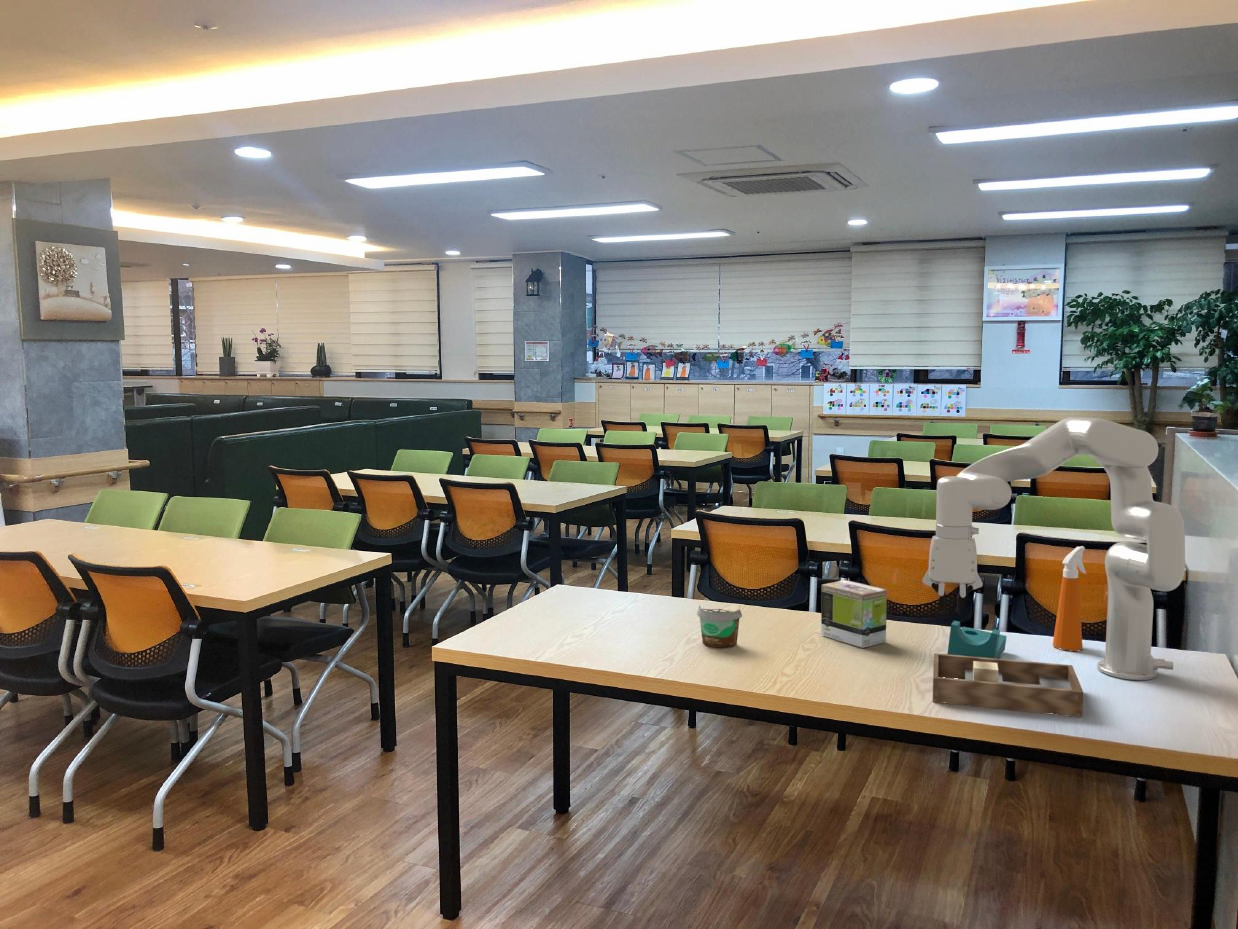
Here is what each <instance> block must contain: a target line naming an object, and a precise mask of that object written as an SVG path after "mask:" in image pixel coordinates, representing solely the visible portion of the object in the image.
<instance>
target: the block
mask: <svg viewBox="0 0 1238 929" xmlns="http://www.w3.org/2000/svg"><path fill="white" fill-rule="evenodd" d="M973 680H975V681H985V682H996V683H998V665H997V663H991V662H980V661H973Z"/></svg>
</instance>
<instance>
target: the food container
mask: <svg viewBox="0 0 1238 929" xmlns="http://www.w3.org/2000/svg"><path fill="white" fill-rule="evenodd" d="M696 615H697V617H699V623H700V631H701V642H703V643H702V645H703V644H704V645H705V647H707V648H710V649H717V650H719V649H720V650H721V649H725V650H726V649H731V648H734V647H736V646H737V644H738V636H739V628H740V626H739V625H740V618H742V617H743V614H742V611H741V608H740V609H737V610H735V611H733V610H732V611H731V610H726V609H723V608H722V609H721V608H713V609H710V608H702V607H701V605H699V606H698V609H697V612H696ZM704 645H703V646H704Z"/></svg>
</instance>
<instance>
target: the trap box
mask: <svg viewBox="0 0 1238 929" xmlns="http://www.w3.org/2000/svg"><path fill="white" fill-rule="evenodd" d="M973 661H980V662H991V663H997V665H998V683H996V682H985V681H975V680H973ZM932 671H933V673H932V674H933V677H932V702H933V701H935V702H934V703H938V702H946V703H945V704H948V703H952V704H951V705H957V704H960V706H967V705H970V706H969V707H977V708H978V707H979V708H987V709H999V710H1005V711H1007V710H1008V711H1016V712H1025V713H1037V714H1044V713H1053V714H1058V715H1057V716H1063V715H1068V716H1067V717H1072V716H1075V717H1076V718H1083V711H1084V690H1083V687H1082V685H1081V682H1080V680H1079V678H1078V676H1077V673H1076V671H1075V668H1074V667H1073V665H1072V664H1061V663H1050V662H1040V661H1039V662H1037V661H1028V660H1027V661H1026V660H1017V659H1014V660H1013V659H1004V658H999V659H994V658H983V657H971V656H960V655H948V654H947V653H946V654H945V653H936V652H934V653H933V670H932ZM943 677H945V678H943ZM954 678H958V679H954ZM1053 714H1052V715H1053ZM1075 717H1074V718H1075Z"/></svg>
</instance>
